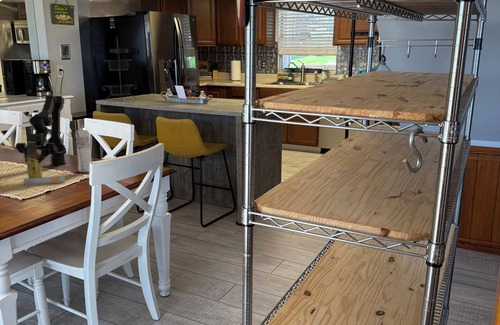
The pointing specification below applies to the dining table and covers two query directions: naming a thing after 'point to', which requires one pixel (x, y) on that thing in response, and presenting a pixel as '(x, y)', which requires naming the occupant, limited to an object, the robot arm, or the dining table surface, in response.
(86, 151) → the water bottle
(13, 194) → the dining table surface
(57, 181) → the rail
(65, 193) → the dining table surface
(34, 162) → the sauce bottle
